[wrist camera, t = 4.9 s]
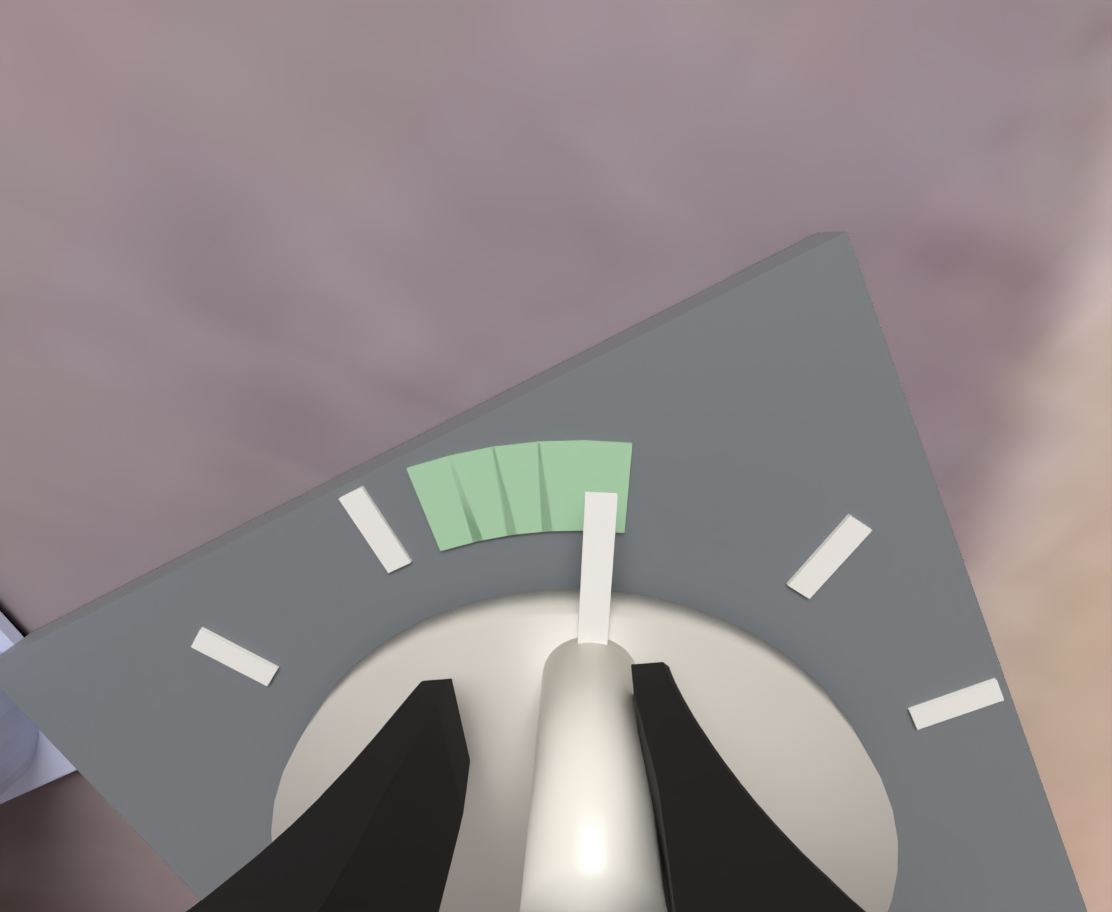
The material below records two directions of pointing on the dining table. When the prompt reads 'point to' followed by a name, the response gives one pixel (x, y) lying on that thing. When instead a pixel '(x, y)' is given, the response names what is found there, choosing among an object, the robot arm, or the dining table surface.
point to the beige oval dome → (603, 742)
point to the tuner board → (555, 564)
